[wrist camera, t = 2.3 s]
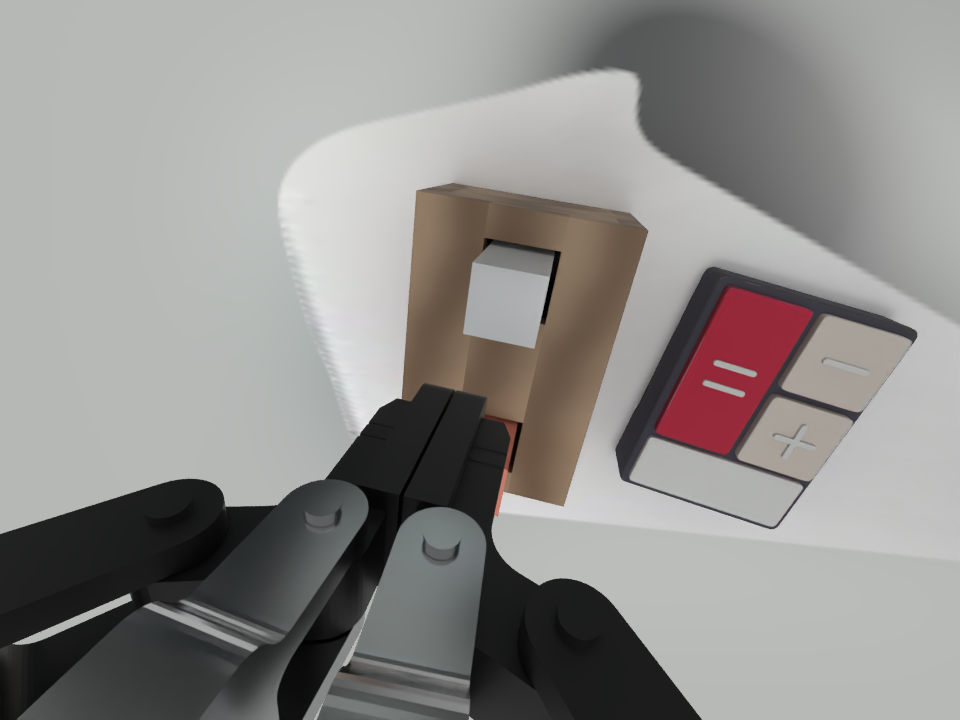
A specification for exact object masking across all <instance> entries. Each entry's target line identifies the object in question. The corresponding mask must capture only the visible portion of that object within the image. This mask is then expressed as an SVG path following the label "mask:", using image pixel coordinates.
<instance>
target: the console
mask: <svg viewBox="0 0 960 720" xmlns="http://www.w3.org/2000/svg"><path fill="white" fill-rule="evenodd" d="M647 234H648V230H647V229H646V228H645V227H644V226H643V225H642V224H641V223H639V222H638V221H637V220H636V219H635V218H634V217H633V216H632V215H631V214H630V213H624V212H618V211H612V210H606V209H601V208H595V207H589V206H583V205H577V204H571V203H565V202H559V201H554V200H548V199H542V198H536V197H530V196H524V195H518V194H512V193H506V192H501V191H495V190H489V189H483V188H477V187H471V186H465V185H459V184H453V183H452V184H447V185H442V186H437V187H432V188H427V189H423V190H418V191H416V205H415V219H414V233H413V247H412V262H411V276H410V290H409V304H408V318H407V333H406V347H405V361H404V375H403V389H402V400H406V401H412V400H413V398H414V397H415V395H416V394H417V392H418V391H419V389H420V388H421V386H422V385H423V384H424V383H427V384H432V385H436V386H441V387H445V388H450V389H454V390H455V392H456V390H459V391H464V392H468V393H473V394H477V395H482V396H486V397H487V405H486V411H485V414H486V415H490V416H495V417H499V418H503V419H508V420H512V421H516V422H518V424H517V429H516V434H515V438H514V443H513V448H512V453H511V458H510V462H509V467H508V472H507V476H506V481H505V486H504V490H503V492H507V493H511V494H515V495H519V496H523V497H527V498H531V499H535V500H539V501H543V502H547V503H552V504H556V505H560V506H564V503H565V500H566V497H567V494H568V490H569V487H570V484H571V481H572V477H573V474H574V471H575V468H576V464H577V461H578V458H579V455H580V451H581V448H582V445H583V442H584V438H585V435H586V432H587V429H588V425H589V422H590V419H591V416H592V412H593V409H594V406H595V403H596V399H597V396H598V393H599V390H600V386H601V383H602V380H603V377H604V373H605V370H606V367H607V364H608V360H609V357H610V354H611V351H612V347H613V344H614V341H615V338H616V334H617V331H618V328H619V325H620V321H621V318H622V315H623V312H624V308H625V305H626V302H627V299H628V295H629V292H630V289H631V286H632V282H633V279H634V276H635V273H636V269H637V266H638V263H639V260H640V257H641V253H642V250H643V247H644V244H645V240H646V237H647ZM487 238H489V239H495V240H500V241H506V242H511V243H516V244H522V245H527V246H533V247H538V248H544V249H549V250H555V251H560V252H561V255H560V259H559V264H558V268H557V273H556V277H555V282H554V286H553V290H552V295H551V299H550V304H549V308H548V313H547V317H546V318H541V321H540V326H539V330H538V335H537V339H536V344H535V348H534V349H533V348H528V347H524V346H519V345H514V344H509V343H505V342H500V341H495V340H490V339H485V338H481V337H476V336H471V335H466V334H463V330H464V323H465V315H466V308H467V300H468V293H469V285H470V278H471V270H472V263H473V261H474V260H475V259H476V258H477V257H478V256H479V255H480V254H481V253H482V252H483V251H484V250H485V249H486V245H487Z"/></svg>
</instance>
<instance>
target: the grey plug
mask: <svg viewBox="0 0 960 720" xmlns="http://www.w3.org/2000/svg"><path fill="white" fill-rule="evenodd" d="M554 254H555V250H549V249H544V248H538V247H533V246H527V245H522V244H516V243H511V242H506V241H500V240H494V241H493V242H492V243H491V244H490V245H489V246H488V247H487V248H486V249H485V250H484V251H483V252H482V253H481V254H480V255H479V256H478V257H477V258H476V259H475V260H474V261H473V263H472V270H471V278H470V285H469V293H468V300H467V308H466V315H465V323H464V330H463V334H466V335H471V336H476V337H481V338H485V339H490V340H495V341H500V342H505V343H509V344H514V345H519V346H524V347H528V348H533V349H534V348H535V344H536V339H537V335H538V330H539V326H540V321H541V316H542V312H543V307H544V303H545V298H546V294H547V289H548V284H549V280H550V275H551V270H552V265H553V259H554Z"/></svg>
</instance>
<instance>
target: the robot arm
mask: <svg viewBox="0 0 960 720" xmlns="http://www.w3.org/2000/svg"><path fill="white" fill-rule="evenodd" d="M486 405H487V397H486V396H482V395H477V394H473V393H468V392H464V391H459V390H456V392H455V390H454V389H450V388H445V387H441V386H436V385H432V384H427V383H424V384H423V385H422V386H421V388H420V389H419V391H418V392H417V394H416V395H415V397H414V398H413V400H412V401H406V400H402V399H398V398H397V399H395V400H394V401H392V402H390V403H388V404H386V405H385V406H383V407H381V408H380V409H379V410H378V411H377V412H376V414H375V415H374V416H373V418H372V419H371V420H370V422H369V425H366V427H365V428H364V429H363V431H362V432H361V434H360V437H359V436H358V437H357V438H356V440H355V441H354V442H353V444H352V445H351V446H350V448H349V449H348V450H347V452H346V453H345V454H344V455H343V457H342V458H341V459H340V461H339V462H338V463H337V465H336V466H335V467H334V468H333V470H332V471H331V472H330V474H329V475H328V476H327V478H326V479H325V480H318V481H314V482H310V483H307V484H305V485H302V486H300V487H299V488H296V489H295V490H293V491H292V492H290V493H289V494H288V495H287V496H286V497H285V498H284V499H283V500H282V501H281V502H280V503H279V504H278V505H275V506H245V507H244V506H243V507H225V501H224V496H223V493H222V491H221V490H220V488H218V487H217V486H216V485H215V484H213V483H211V482H208V481H204V480H199V479H181V480H175V481H170V482H166V483H162V484H159V485H156V486H152V487H149V488H146V489H143V490H140V491H136V492H133V493H130V494H127V495H124V496H120V497H118V498H114V499H111V500H108V501H104V502H101V503H98V504H95V505H92V506H89V507H85V508H82V509H79V510H76V511H73V512H70V513H66V514H63V515H60V516H57V517H53V518H51V519H47V520H44V521H41V522H38V523H34V524H31V525H28V526H25V527H22V528H18V529H16V530H12V531H9V532H6V533H2V534H0V720H313V719H314V718H315V716H316V714H317V712H318V710H319V708H320V706H321V704H322V703H323V701H324V703H323V705H322V708H321V710H320V713H319V716H318V718H317V720H468V719H469V716H470V717H471V718H472V719H474V720H702V719H701V718H700V717H699V715H698V714H697V713H696V711H695V710H694V709H693V708H692V706H691V705H690V704H689V702H688V701H687V700H686V699H685V697H684V696H683V695H682V693H681V692H680V691H679V689H678V688H677V687H676V686H675V684H674V683H673V682H672V680H671V679H670V678H669V676H668V675H667V674H666V673H665V671H664V670H663V669H662V667H661V666H660V665H659V664H658V662H657V661H656V660H655V658H654V657H653V656H652V654H651V653H650V652H649V651H648V649H647V648H646V647H645V645H644V644H643V643H642V641H641V640H640V639H639V638H638V636H637V635H636V634H635V632H634V631H633V630H632V629H631V627H630V626H629V625H628V623H627V622H626V621H625V619H624V618H623V617H622V615H621V614H620V613H619V612H618V610H617V609H616V608H615V606H614V605H613V604H612V603H611V602H610V601H609V600H608V599H607V598H606V597H605V596H604V595H603V594H602V593H600V592H599V591H597V590H596V589H595V588H593V587H591V586H589V585H587V584H585V583H582V582H580V581H577V580H572V579H562V578H561V579H553V580H550V581H547V582H545V583H543V584H541V585H537V584H536V583H534V582H533V581H531V580H529V579H528V578H526V577H524V576H523V575H521V574H519V573H518V572H517V571H515V570H514V569H512V568H511V567H510V566H509V565H508V564H507V563H506V562H505V561H504V560H503V559H502V557H501V556H500V555H499V553H498V551H497V550H496V548H495V545H494V543H493V539H492V532H491V529H492V523H493V518H494V514H495V509H496V505H497V500H498V495H499V491H500V486H501V481H502V477H503V472H504V467H505V463H506V458H507V453H508V448H509V444H510V439H511V438H510V435H509V433H508V430H507V428H506V425H505V423H503V422H499V421H494V420H490V419H486V418H484V416H485V411H486ZM377 586H378V588H377V591H376V593H375V596H374V599H373V602H372V604H371V607H370V610H369V613H368V615H367V618H366V621H365V624H364V627H363V629H362V626H363V623H364V619H365V611H366V609H367V606H368V604H369V602H370V600H371V598H372V595H373V593H374V591H375V589H376V587H377ZM129 593H130V595H131V598H132V601H130V602H128V603H126V604H123V605H121V606H119V607H117V608H114V609H112V610H110V611H107V612H105V613H103V614H101V615H98V616H96V617H94V618H92V619H89V620H87V621H85V622H82V623H80V624H78V625H76V626H74V627H71V628H69V629H66V630H64V631H62V632H60V633H57V634H55V635H53V636H51V637H48V638H46V639H43V640H41V641H38V642H35V643H30V644H24V645H15V644H13V643H15V642H17V641H20V640H22V639H24V638H27V637H29V636H31V635H33V634H36V633H38V632H41V631H43V630H45V629H48V628H50V627H52V626H55V625H57V624H59V623H62V622H64V621H66V620H68V619H71V618H73V617H75V616H78V615H80V614H82V613H85V612H87V611H89V610H92V609H94V608H96V607H99V606H101V605H103V604H106V603H108V602H110V601H113V600H115V599H117V598H120V597H122V596H124V595H126V594H129ZM361 629H362V632H361V635H360V638H359V640H358V643H357V646H356V649H355V651H354V653H353V656H352V658H351V660H350V662H349V663H348V665H347V666H343V667H342V665H343V663H344V661H345V659H346V657H347V655H348V654H349V652H350V650H351V648H352V646H353V644H354V642H355V640H356V639H357V637H358V635H359V633H360V630H361ZM341 667H342V668H341ZM325 697H326V698H325ZM324 699H325V700H324Z"/></svg>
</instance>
